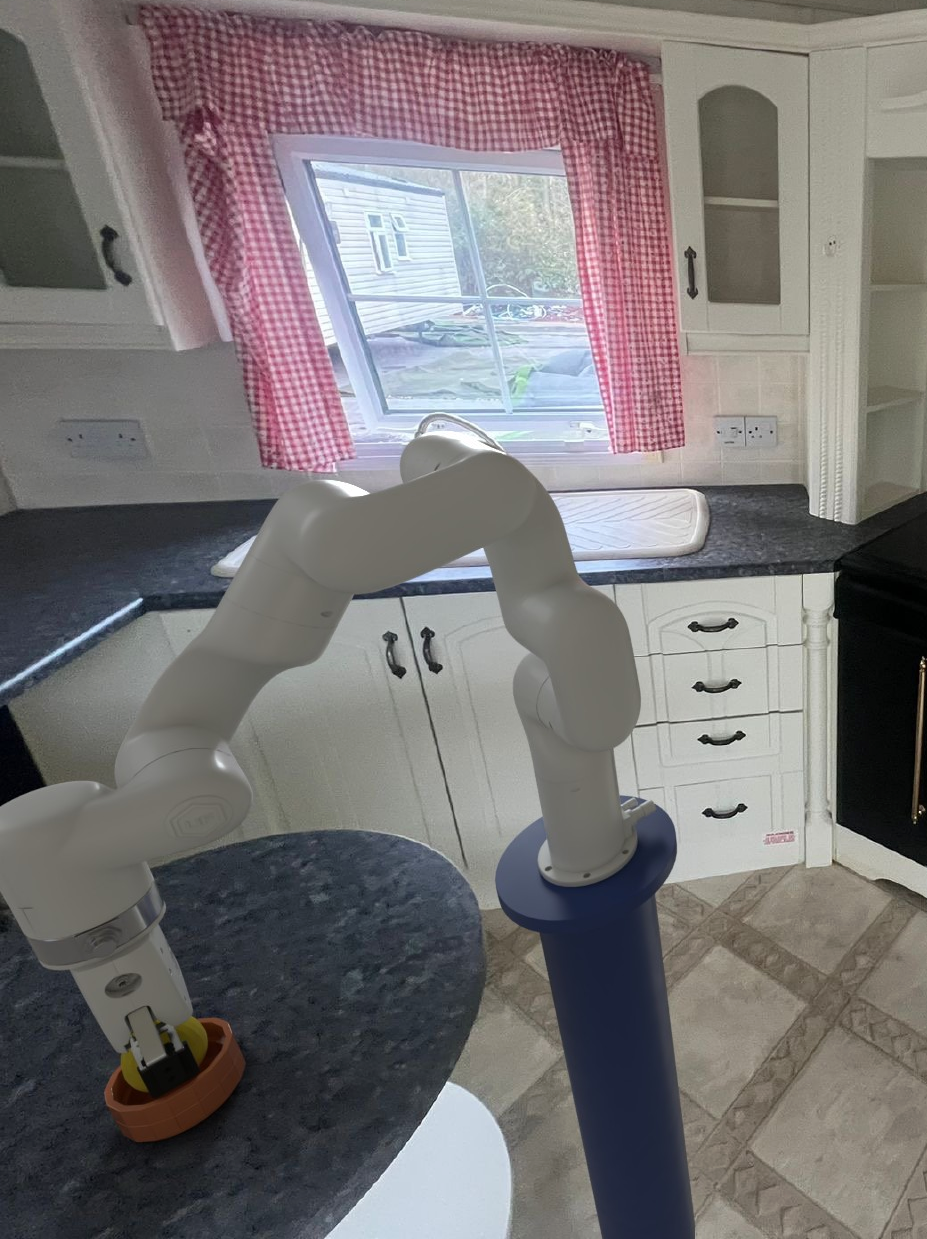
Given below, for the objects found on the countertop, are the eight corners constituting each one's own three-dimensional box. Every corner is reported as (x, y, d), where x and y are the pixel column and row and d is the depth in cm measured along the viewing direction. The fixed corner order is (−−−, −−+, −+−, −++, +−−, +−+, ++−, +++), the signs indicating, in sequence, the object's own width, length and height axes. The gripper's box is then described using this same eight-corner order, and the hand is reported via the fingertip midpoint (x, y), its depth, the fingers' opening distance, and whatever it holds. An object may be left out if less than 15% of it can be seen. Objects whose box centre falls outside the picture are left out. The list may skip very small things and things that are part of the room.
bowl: (235, 1034, 76) (220, 1001, 74) (256, 1091, 71) (240, 1056, 69) (118, 1100, 70) (99, 1066, 68) (132, 1168, 65) (111, 1132, 63)
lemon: (229, 1068, 71) (203, 1011, 68) (154, 1123, 66) (122, 1064, 63) (202, 1041, 73) (176, 984, 70) (127, 1092, 68) (95, 1034, 65)
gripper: (178, 948, 60) (244, 1092, 66) (144, 844, 69) (205, 978, 76) (40, 1014, 54) (127, 1163, 61) (25, 891, 64) (101, 1031, 71)
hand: (170, 1059), depth 68 cm, fingers closed on lemon, 5 cm apart
